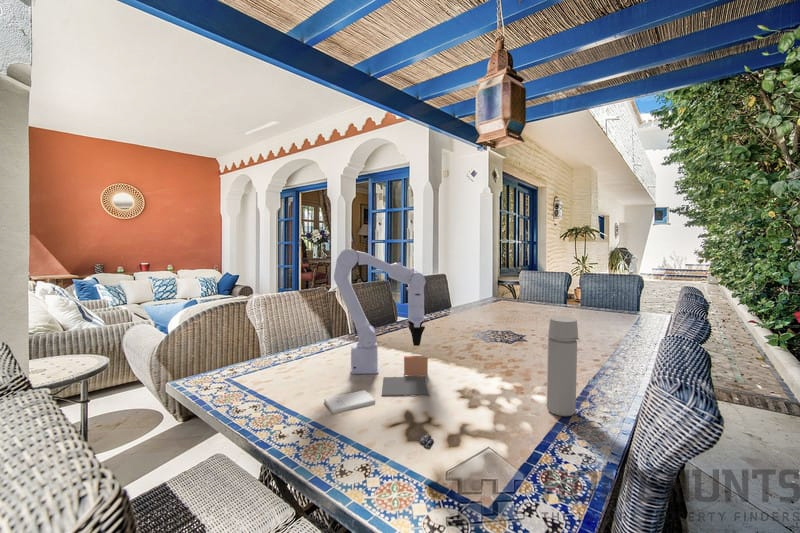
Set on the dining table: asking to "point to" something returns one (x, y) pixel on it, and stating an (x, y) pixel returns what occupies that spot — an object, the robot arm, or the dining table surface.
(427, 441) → the blueberries
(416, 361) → the terracotta tile
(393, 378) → the mat
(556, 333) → the water bottle
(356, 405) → the external hard drive
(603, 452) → the dining table surface
